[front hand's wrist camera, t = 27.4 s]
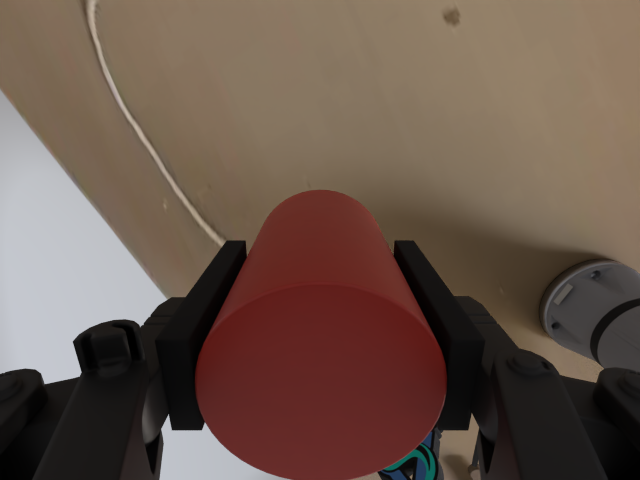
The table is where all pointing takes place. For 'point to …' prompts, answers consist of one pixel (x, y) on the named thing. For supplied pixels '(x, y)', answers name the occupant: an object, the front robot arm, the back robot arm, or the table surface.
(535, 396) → the front robot arm
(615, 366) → the back robot arm
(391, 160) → the table surface
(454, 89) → the table surface
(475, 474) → the ice cream bar
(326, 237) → the cylinder
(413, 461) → the decorative sign
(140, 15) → the table surface
